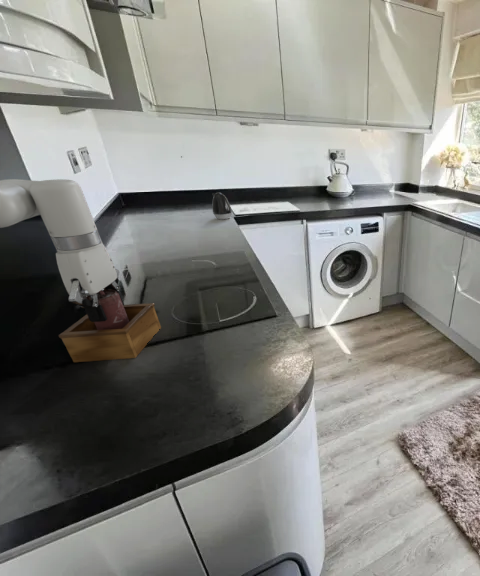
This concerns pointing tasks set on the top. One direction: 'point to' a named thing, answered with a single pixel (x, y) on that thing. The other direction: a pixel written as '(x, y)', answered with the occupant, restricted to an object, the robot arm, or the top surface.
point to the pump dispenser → (221, 206)
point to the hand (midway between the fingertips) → (108, 312)
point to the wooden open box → (112, 336)
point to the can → (111, 310)
